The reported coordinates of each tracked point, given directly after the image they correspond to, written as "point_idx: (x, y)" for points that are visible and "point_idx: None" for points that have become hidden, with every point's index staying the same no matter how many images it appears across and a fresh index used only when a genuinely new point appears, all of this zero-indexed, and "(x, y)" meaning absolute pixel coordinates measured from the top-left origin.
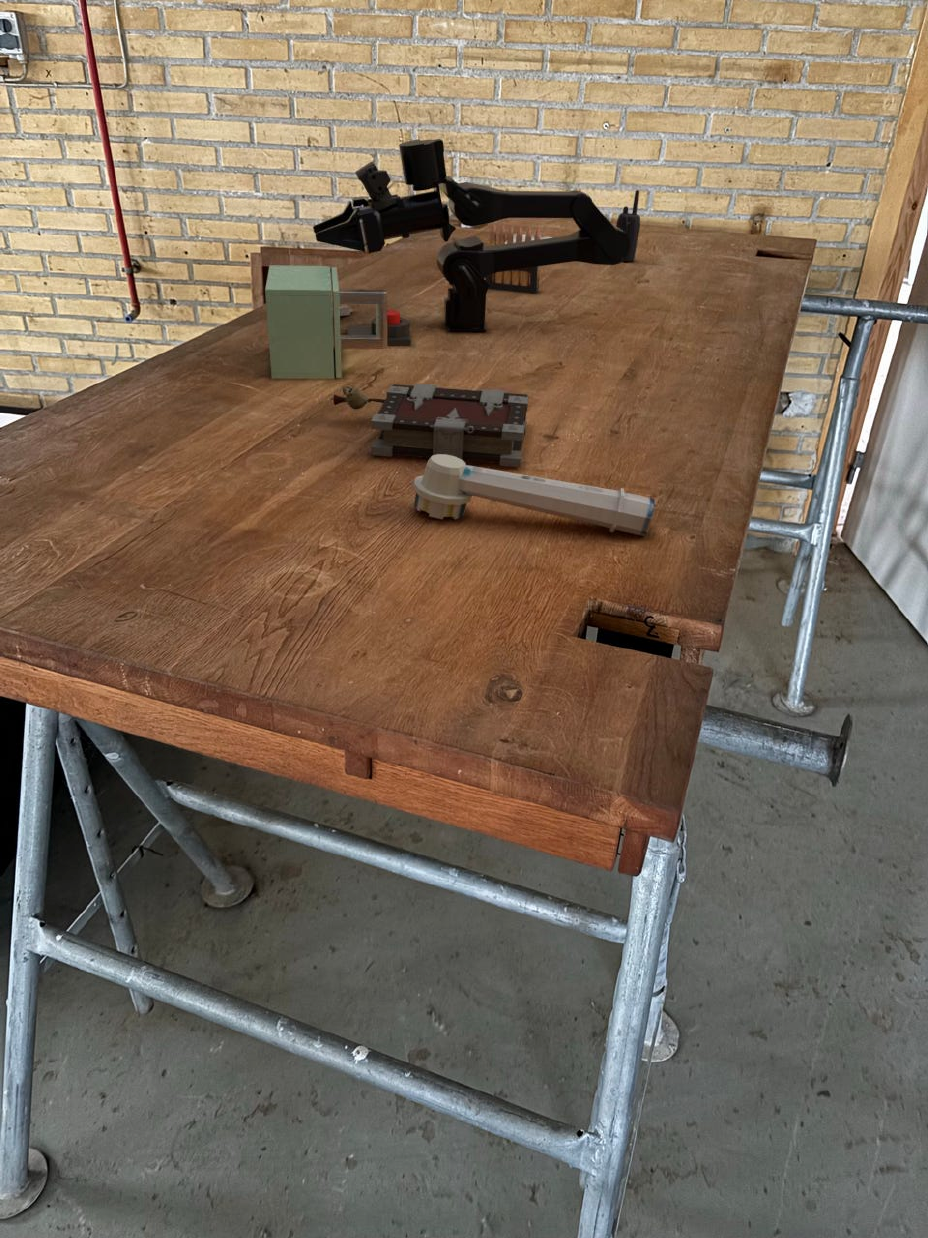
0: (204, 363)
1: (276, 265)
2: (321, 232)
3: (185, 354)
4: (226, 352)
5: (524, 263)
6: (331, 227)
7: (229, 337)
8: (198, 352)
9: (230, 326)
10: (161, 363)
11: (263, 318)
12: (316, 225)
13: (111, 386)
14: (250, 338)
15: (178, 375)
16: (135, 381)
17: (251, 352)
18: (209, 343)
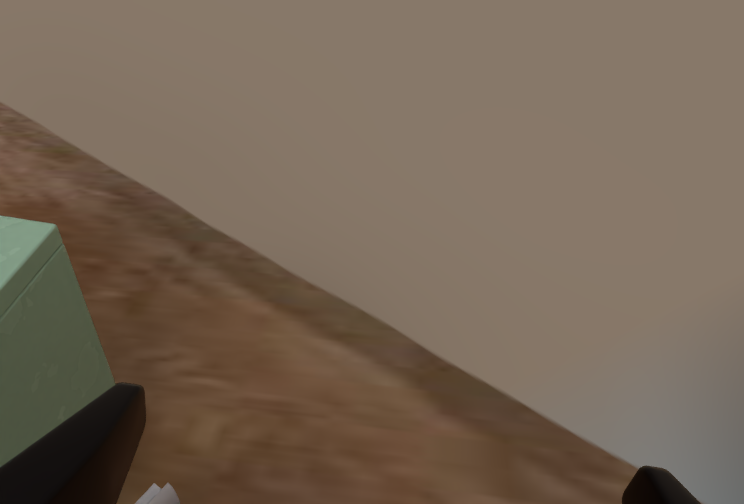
0: (92, 262)
1: (34, 245)
2: (75, 416)
3: (184, 238)
4: (161, 310)
5: None
6: (12, 498)
7: (301, 331)
8: (188, 260)
9: (414, 344)
10: (138, 201)
11: (508, 444)
12: (658, 488)
13: (39, 139)
14: (277, 379)
15: (33, 216)
16: (44, 164)
17: (131, 365)
18: (257, 286)
